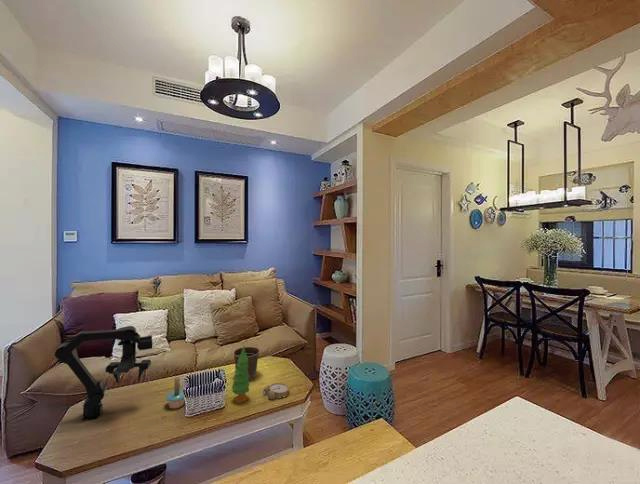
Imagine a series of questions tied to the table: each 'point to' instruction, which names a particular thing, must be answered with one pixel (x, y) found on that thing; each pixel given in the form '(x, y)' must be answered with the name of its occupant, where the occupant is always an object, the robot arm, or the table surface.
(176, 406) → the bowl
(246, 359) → the decorative tree
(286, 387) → the candle holder
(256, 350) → the plant pot
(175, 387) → the teal stand with rod
